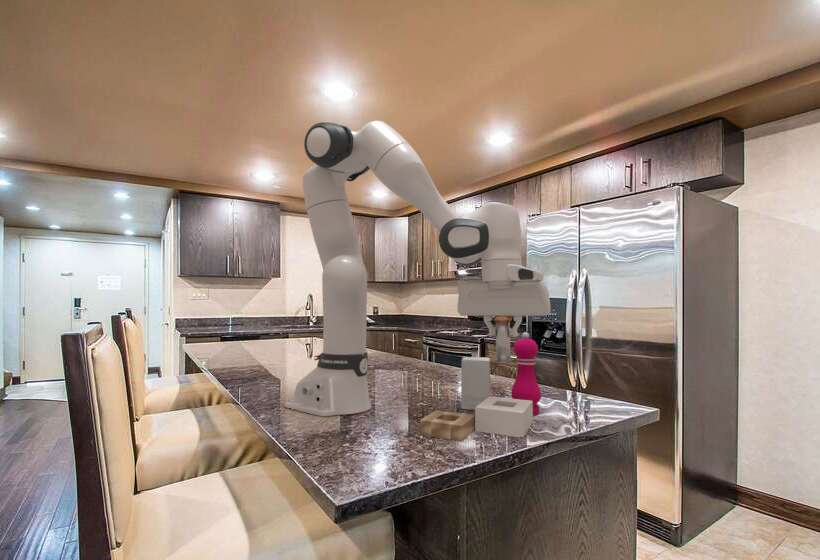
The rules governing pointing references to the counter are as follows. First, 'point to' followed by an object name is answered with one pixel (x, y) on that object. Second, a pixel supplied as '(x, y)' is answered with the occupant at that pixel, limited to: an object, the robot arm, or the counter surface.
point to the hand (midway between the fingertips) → (503, 336)
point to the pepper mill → (526, 372)
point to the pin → (503, 338)
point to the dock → (504, 416)
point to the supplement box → (474, 381)
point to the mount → (447, 425)
